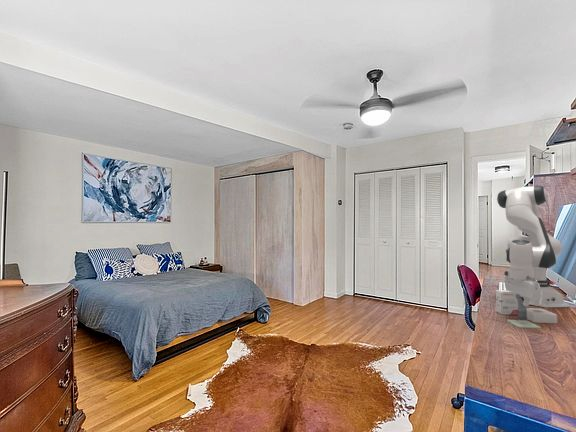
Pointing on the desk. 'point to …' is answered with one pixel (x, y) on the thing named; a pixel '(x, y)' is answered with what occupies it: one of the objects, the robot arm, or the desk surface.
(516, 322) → the mat
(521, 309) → the plug
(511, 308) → the ink box
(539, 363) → the desk surface
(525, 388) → the desk surface
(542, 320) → the white square frame block
